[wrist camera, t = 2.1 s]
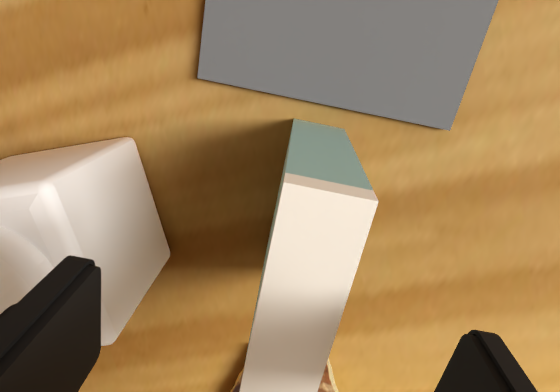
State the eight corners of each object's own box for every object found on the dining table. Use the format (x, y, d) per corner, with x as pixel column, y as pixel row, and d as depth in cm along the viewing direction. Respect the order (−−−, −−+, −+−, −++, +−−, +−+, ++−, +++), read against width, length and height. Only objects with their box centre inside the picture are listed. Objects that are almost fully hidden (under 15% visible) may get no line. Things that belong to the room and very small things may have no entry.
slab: (343, 128, 18) (378, 201, 10) (308, 266, 21) (310, 414, 13) (293, 118, 18) (283, 182, 10) (264, 257, 21) (237, 400, 13)
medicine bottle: (60, 269, 22) (-183, 490, 11) (9, 155, 20) (-370, 294, 9) (173, 255, 21) (32, 480, 10) (135, 134, 19) (-108, 258, 8)
